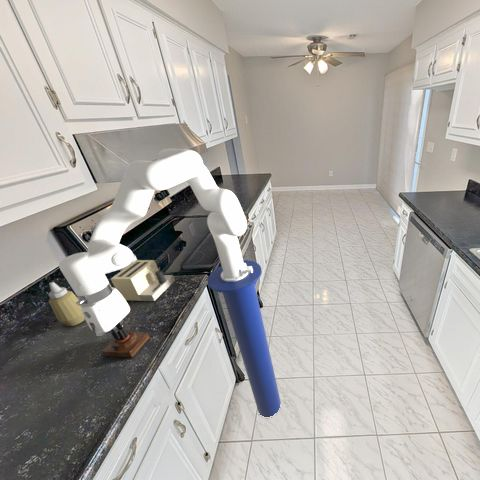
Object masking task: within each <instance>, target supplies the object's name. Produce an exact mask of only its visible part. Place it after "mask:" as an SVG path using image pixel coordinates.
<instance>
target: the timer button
mask: <svg viewBox="0 0 480 480" xmlns="http://www.w3.org/2000/svg"><path fill="white" fill-rule="evenodd" d="M127 335H128V336H127V337H126V338H125V339H124V340H116V342H117V343H121V342H124V341H126V340H127V339H128V338H129V337H130V335H129V334H128V333H127Z"/></svg>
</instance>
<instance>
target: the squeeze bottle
mask: <svg viewBox="0 0 480 480" xmlns="http://www.w3.org/2000/svg"><path fill="white" fill-rule="evenodd" d="M48 285H49V289H50V291H49V292H48V294H47V295H48V297H49V300H48V303H49V305H50V307H51V309H52V311H53V314H54V315H55V317H56V319H57V321H58V322H60V323H61V324H63V325H65V326H66V327H74V326H78V325H79V324H81V323H83V322H85V321H86V320H85V318H84V316H83V313H82V310H81V306H79V305H77V304H76V302H77V301H78V300H79V299H78V298H77V295H76V294H75V293H74V291H71V290H67V288H66V287H65V286H59V285H58V284H57V283H55V282H54V281H50V282H49V283H48Z"/></svg>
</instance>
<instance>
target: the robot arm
mask: <svg viewBox="0 0 480 480" xmlns="http://www.w3.org/2000/svg"><path fill="white" fill-rule="evenodd" d="M184 182H187V184H188V185H189V186H190V188H191V190H192V192H193V194H194V196H195V197H196V200H197V201H198V204H199V205H200V206H201V208H202V209H204V210H205V211H208V212H210V213H209V214H208V215H207V218H206V224H207V229H208V230H209V232H210V234H211V236H212V238H213V241H214V244H215V248H216V251H217V254H218V258H219V262H220V266H222V269H223V272H222V273H221V278H222V280H223V281H226V282H235V281H238V280H241V279H243V278H244V277H246V276H247V275H248V273H253V269H252V266H246V263H243V260H244V259H243V255H242V251H241V246H240V242H239V238H238V237H241V236H243V235H244V234H245V233H246V231H247V228H248V221H247V217H246V215H245V213H244V211H243V208H242V206H241V203H240V201H239V199H238V197H237V195H236V194H235V193H234V192H233V191H231V190H229V189H226V188H223V187H222V188H221V187H219V186H218V185H217V184H216V181H215V180H214V177H213V176H212V174H211V172H210V171H209V169H208V168H207V167H206V166H205V164H204V161H203V158H202V157H201V155H200V154H199V153H198V152H197V151H195V150H193V149H189V148H175V147H174V148H173V147H172V148H171V147H170V148H169V147H168V148H164V149H161V150H160V151H159V152H158V154H157V156H156V159H155V160H145V159H138V160H134V161H131V162H130V163H129V164H128V165H127V166H126V169H125V171H124V174H123V176H122V179H121V182H120V184H119V187H118V189H117V192H116V194H115V197H114V199H113V201H112V203H111V206H110V207H109V208H108V209H107V210H106V212H105V213H104V214H103V215H102V217H101V218H100V219H99V220H98V222H97V224H96V225H95V227H94V229H93V231H92V233H91V236H90V239H89V242H88V245H87V251H83V252H82V251H81V252H77V253H72V254H71V255H68V256H66V257H64V258H63V259H61V261H59V263H58V267H59V270H60V272H61V273H62V275H63V276H64V278H65V279H66V281H67V283H68V284H69V285H70V287H71V289H72V290H73V293H74V295H75V296H76V297H77V298H78V299H79V300H78V301H77V302H76V304H77V305H79V306H81V310H82V313H83V316H84V318H85V320H84V321H85V322H86V325H87V326H88V327H89V329H90V330H91V331H92V332H93V333H95V335H96V338H102V337H104V336H106V335H107V334H111V336H112V337H113V338H114V339H116V340H124V339H125V338H126V337H127V336H128V335H127V333H126V331H127V330H126V329H125V327H124V326H125V318H126V316H128V314H129V313H131V312H130V311H131V307H130V305H129V303H128V302H127V300H125V299H124V297H123V296H122V295H121V294H120V292H119V291H118V290H117V289H116V288H115V286H112V285H111V284H110V281H109V279H108V278H107V276H106V274H110V273H112V272H113V273H114V272H116V271H117V272H118V271H120V269H122V268H125V267H126V266H128V265H129V264H130V263H131V262H132V260H133V254H134V253H133V251H132V250H131V249H130V248H129V247H128V246H126V245H123V244H121V243H120V242H121V239H122V236H123V234H124V232H125V231H126V229H127V228H128V227H129V226H130V225H131V224H133V223H135V222H136V221H138V220H140V219H142V218H144V217H145V216H146V215H147V213H148V210H149V208H150V207H149V206H150V204H151V201H152V199H153V197H154V194H155V191H165V190H168V189H170V188H173V187H176V186H178V185H180V184H182V183H184Z"/></svg>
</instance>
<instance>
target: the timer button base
mask: <svg viewBox="0 0 480 480" xmlns="http://www.w3.org/2000/svg"><path fill="white" fill-rule="evenodd" d="M126 333H128V334H129V335H130V337H129V338H128V339H127V340H126V341H124V342H121V343H117V342H116V339H114V337H113V338H112V339H111V340H110V342H109V343H108V344H107V345H106V346H105V347H104V348H103V349H102V350H101V351H100V352H101V353H102V355H103V356H104V357H118V358H133V357H134V356H135V355H136V354H137V353H138V352H139V350H140V349H141V348H142V347H143V346H144V345H145V344H146V342H147V341H149V339H150V338H151V336H150V334H149V332H141V331H140V332H138V331H134V330H133V329H127V330H126Z"/></svg>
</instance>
